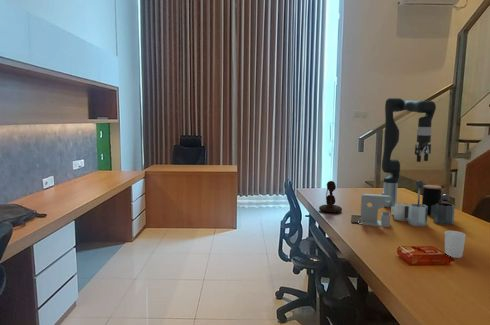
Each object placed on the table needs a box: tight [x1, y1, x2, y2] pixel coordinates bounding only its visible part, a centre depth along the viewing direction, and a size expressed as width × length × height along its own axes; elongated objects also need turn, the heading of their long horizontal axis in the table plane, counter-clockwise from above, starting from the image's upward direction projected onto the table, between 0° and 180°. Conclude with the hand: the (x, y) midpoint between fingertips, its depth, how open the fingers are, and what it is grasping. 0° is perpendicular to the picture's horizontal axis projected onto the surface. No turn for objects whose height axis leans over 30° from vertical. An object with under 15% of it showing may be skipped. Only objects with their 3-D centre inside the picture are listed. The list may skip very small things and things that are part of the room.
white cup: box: [444, 230, 467, 259], centre depth 156 cm, size 8×8×10 cm
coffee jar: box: [421, 184, 443, 216], centre depth 229 cm, size 11×11×18 cm
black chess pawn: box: [318, 180, 343, 215], centre depth 233 cm, size 15×15×20 cm
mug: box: [390, 202, 409, 222], centre depth 216 cm, size 10×8×9 cm
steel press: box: [404, 203, 428, 227], centre depth 206 cm, size 12×9×11 cm
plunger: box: [414, 179, 425, 207], centre depth 203 cm, size 6×6×16 cm
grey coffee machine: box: [357, 193, 392, 228], centre depth 205 cm, size 17×10×18 cm, turn 71°
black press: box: [430, 193, 456, 226], centre depth 208 cm, size 12×9×17 cm
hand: (422, 161), depth 214 cm, fingers open, 8 cm apart
